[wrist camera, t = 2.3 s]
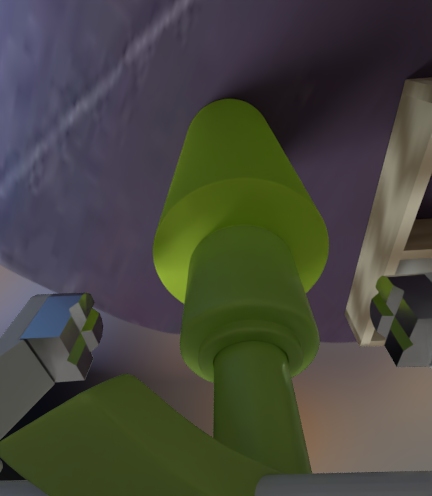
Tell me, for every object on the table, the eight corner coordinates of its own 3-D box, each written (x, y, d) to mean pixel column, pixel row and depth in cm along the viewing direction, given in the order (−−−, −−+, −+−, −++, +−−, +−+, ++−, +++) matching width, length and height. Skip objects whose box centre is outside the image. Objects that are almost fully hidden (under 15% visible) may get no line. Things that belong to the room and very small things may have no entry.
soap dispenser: (223, 61, 18) (290, 351, 1) (287, 148, 21) (544, 561, 4) (157, 129, 20) (-107, 538, 4) (223, 198, 23) (239, 591, 7)
